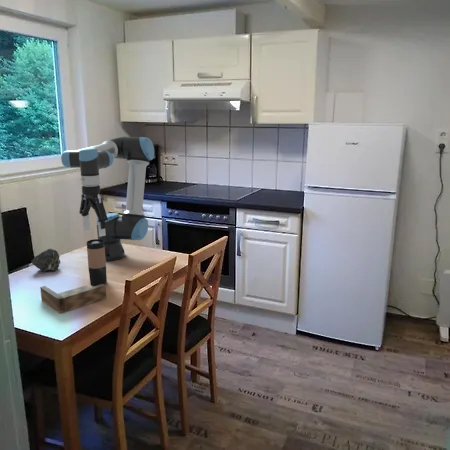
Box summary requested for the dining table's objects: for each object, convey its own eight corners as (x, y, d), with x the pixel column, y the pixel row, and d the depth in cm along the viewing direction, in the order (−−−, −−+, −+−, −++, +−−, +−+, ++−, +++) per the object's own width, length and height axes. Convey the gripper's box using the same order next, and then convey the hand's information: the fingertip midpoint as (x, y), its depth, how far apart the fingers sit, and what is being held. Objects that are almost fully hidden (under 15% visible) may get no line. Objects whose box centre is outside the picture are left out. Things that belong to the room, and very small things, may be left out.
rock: (54, 258, 224) (50, 244, 217) (67, 267, 220) (63, 253, 213) (34, 273, 216) (29, 259, 209) (47, 282, 212) (42, 267, 205)
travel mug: (105, 279, 203) (102, 238, 198) (108, 285, 197) (105, 242, 192) (88, 282, 200) (85, 240, 195) (91, 288, 194) (87, 244, 188)
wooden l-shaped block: (86, 287, 194) (85, 274, 193) (106, 298, 183) (105, 285, 181) (41, 300, 181) (40, 287, 179) (60, 313, 169) (58, 299, 167)
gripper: (68, 182, 193) (73, 229, 198) (97, 189, 176) (101, 240, 181) (84, 181, 198) (88, 226, 203) (114, 187, 181) (117, 236, 186)
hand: (94, 233), depth 192 cm, fingers open, 13 cm apart
